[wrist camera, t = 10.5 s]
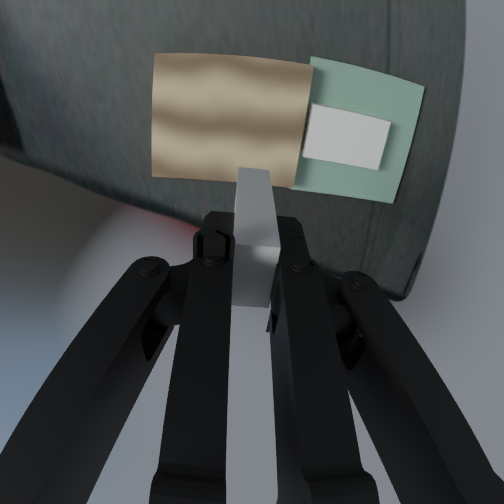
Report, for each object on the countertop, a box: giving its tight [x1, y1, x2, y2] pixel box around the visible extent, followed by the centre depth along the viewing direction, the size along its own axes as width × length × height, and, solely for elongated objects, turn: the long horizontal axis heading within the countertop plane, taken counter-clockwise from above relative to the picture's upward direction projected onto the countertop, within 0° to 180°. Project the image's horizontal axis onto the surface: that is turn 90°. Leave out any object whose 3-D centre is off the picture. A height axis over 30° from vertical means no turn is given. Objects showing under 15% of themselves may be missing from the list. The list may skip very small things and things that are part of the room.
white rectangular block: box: [301, 102, 391, 170], centre depth 33 cm, size 9×6×2 cm, turn 83°
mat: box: [290, 56, 425, 203], centre depth 34 cm, size 16×14×1 cm
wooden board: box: [152, 53, 314, 188], centre depth 32 cm, size 14×16×2 cm
